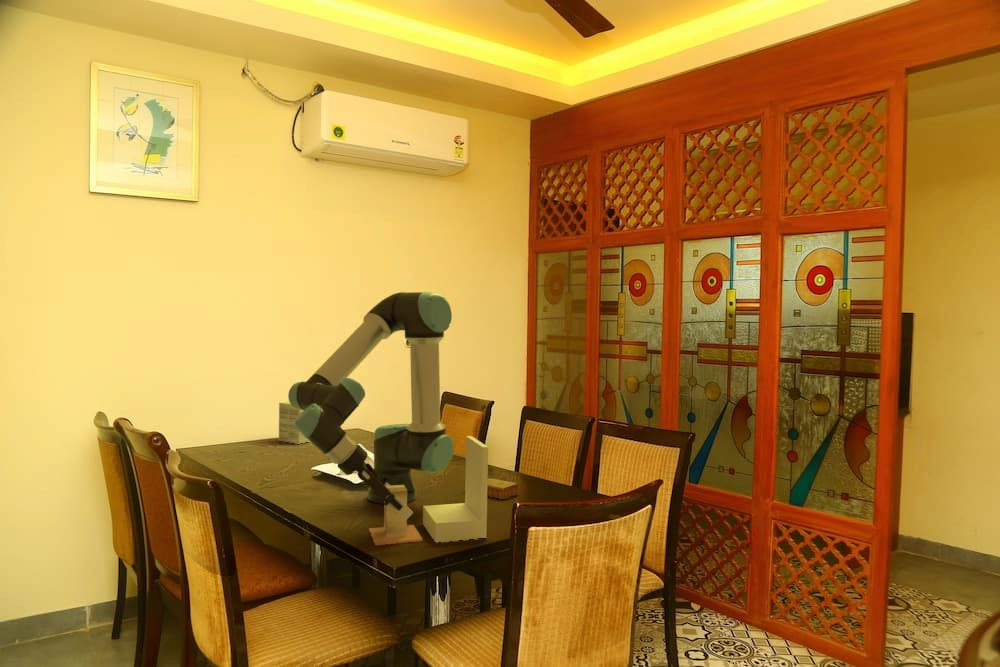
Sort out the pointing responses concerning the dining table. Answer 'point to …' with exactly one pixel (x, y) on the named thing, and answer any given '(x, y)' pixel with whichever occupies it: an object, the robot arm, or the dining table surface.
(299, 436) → the supplement box
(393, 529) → the maple block
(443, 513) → the l-shaped bookend
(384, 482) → the robot arm
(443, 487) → the dining table surface
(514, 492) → the carton
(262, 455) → the dining table surface
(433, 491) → the dining table surface
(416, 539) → the tile pad
